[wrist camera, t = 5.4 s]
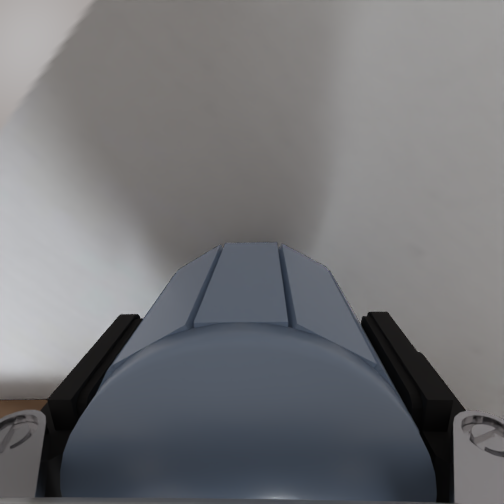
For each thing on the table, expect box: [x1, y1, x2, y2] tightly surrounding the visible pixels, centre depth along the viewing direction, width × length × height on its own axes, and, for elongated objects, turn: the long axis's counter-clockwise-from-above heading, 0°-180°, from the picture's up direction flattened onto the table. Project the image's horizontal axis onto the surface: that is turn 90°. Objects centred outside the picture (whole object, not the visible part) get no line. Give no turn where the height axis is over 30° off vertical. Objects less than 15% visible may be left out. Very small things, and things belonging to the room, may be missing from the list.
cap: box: [60, 242, 437, 503], centre depth 9 cm, size 7×7×6 cm
